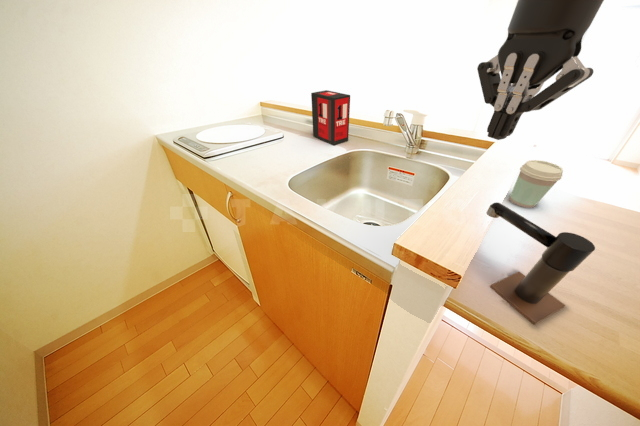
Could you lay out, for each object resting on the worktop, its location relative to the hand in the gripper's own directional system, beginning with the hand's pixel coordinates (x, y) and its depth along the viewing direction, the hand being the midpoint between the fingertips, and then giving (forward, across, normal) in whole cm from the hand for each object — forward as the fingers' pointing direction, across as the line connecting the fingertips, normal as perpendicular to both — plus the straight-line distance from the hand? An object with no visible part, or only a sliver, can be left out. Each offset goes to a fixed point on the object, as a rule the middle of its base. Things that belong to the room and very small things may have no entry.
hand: (496, 137), depth 35 cm
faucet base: (+27, +14, +5) cm, 31 cm away
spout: (+16, +8, +6) cm, 19 cm away
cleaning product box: (+27, -80, +8) cm, 85 cm away
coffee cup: (+27, -6, +35) cm, 45 cm away
